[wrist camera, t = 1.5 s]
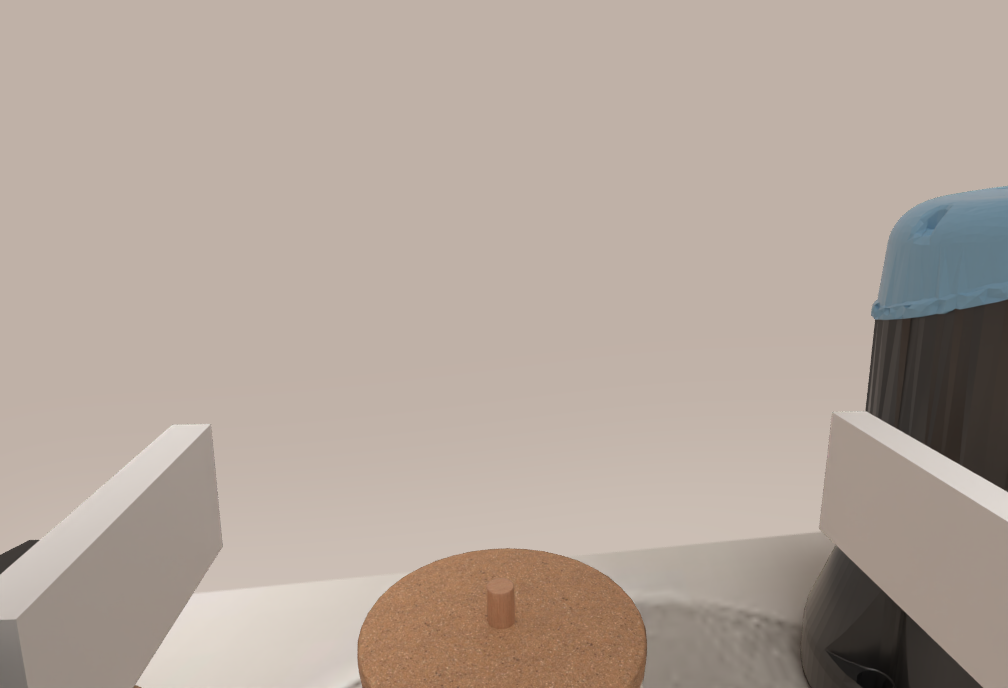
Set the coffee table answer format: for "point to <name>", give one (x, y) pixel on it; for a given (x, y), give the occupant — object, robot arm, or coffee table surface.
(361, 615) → the coffee table surface
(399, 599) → the lidded jar
